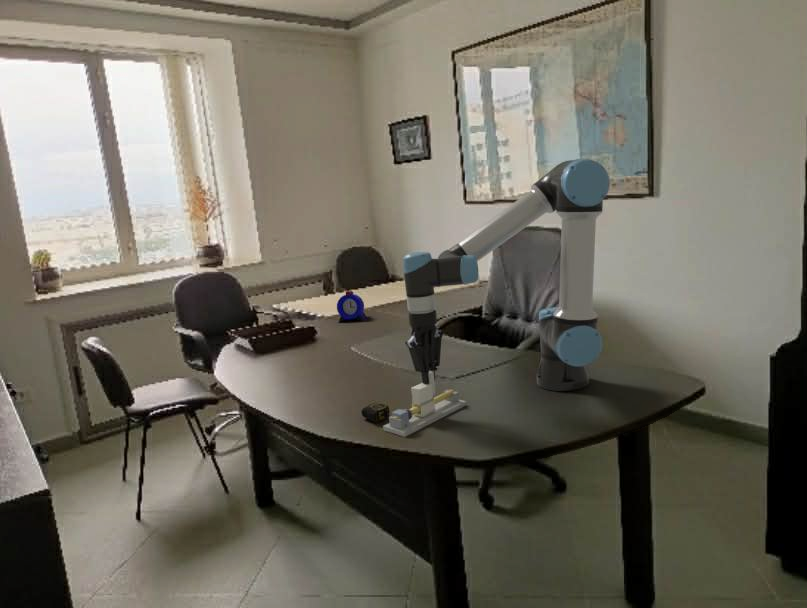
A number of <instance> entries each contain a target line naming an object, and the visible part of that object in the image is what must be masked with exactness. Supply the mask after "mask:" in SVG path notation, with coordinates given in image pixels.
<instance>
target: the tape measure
mask: <svg viewBox="0 0 807 608" xmlns="http://www.w3.org/2000/svg"><path fill="white" fill-rule="evenodd" d="M361 415H362V417H363V418H364V419H367V420H370V421H372V422H374V423H378V422H379V421H384V420H386V419H387V418H389V417H390V416H389V415H390V407H389V406H388V404H387V403H384V402H374V403H371V404H368V405H367V406H365V407H363V408H362V409H361Z"/></svg>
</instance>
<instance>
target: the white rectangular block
mask: <svg viewBox="0 0 807 608" xmlns="http://www.w3.org/2000/svg"><path fill="white" fill-rule="evenodd" d="M410 390H411V408H413V407H416V406H418V405H419V406H420V408H421V412H419V413H417V414H415V415H416V416H419V417H425V416H427V415H429V414H431V413H433V412H435V402H434V397H433V396H434V395H433V393H432V384H423V382H421V383H419V384H417V385H415V386H411V388H410Z"/></svg>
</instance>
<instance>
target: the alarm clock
mask: <svg viewBox="0 0 807 608" xmlns="http://www.w3.org/2000/svg"><path fill="white" fill-rule="evenodd" d="M364 302H365V301H364V300H363V299H362V297H360V295H358V294H354V292H353V291H352V290H348V291H345V294H344V295H342V296H340V298H339V299H338V301H337V304H336V310H337V311H336V312H337V313H338V315H339V316H340V317H339V320H338V324H339V323H341V322H344V321H346V320H352V319H355V320H357V321H360V322H363V321H364V320H365V319H366V318H367V315H366V314H365V313H364V310H365V303H364Z"/></svg>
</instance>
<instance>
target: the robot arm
mask: <svg viewBox="0 0 807 608" xmlns="http://www.w3.org/2000/svg"><path fill="white" fill-rule="evenodd" d="M610 181H611V180H610V176H609V173H608V171H607V169H606V168H605V167H604V166H603V164H601V163H600V162H598V161H596V160H593V159H589V158H577V159H573V160H572V159H571V160H565V161H563V162H562V161H561V163H558V164H557V165H555V167H553V168H552V169H551V170H549V171H548V172H546V174H545V175H543V176H542V177H541V178H540V179H538V180H536V182H534V183H533V184H531V187H530V191H528V192H526V193H525V194H524V195H523V196H521V197H520V198H518V199H517V200H516V201H514V202H513V203H512V204H510V205H509V206H508V207H506V208H504V209H503V210H502V211H500V212H499V213H498V214H496V215H495V216H493V217H492V218H491V219H490V220H488V221H487V222H485V223H484V224H483V225H481V226H480V227H478V228H477V229H476V230H475V229H474V231H473V232H472V233H470V234H468V235H467V236H465V238H463V239H462V240H460V241H459V242H458V243H457V244H455V245H454V246H452V247H451V248H449V249H446V250H444V251H441V253H439V254H438V257H437V258H432V254H431V253H430V252H428V251H421V252H420V251H418V252H416V251H415V252H410V253H407V254H405V255H404V257H403V259H402V260H403V261H402V262H403V276H404V278H403V279H404V285H405V293H406V304H407V311H409V312H408V314H407V315H408V324H409V326H410V327H411V333H410V336H411V337H410V338H409V340H405V342H404V343H405V345H406V346H407V349H408V351H409V354H410V355H409V356H410V357H411V361H412V365H413V368H414V371H415V372H417V373H421V381H422V382H421V383H423V384H432V393H433V396H434V395H436V394H437V393H436V383H435V382H436V373H435V372H437V371H438V370H439V368H437V367H439V366H440V363H441V351H442V350H441V349H442V338H443V336H444V331H443V330H439V329H437V325H436V324H438V317H437V315H438V314H437V311H436V307H437V306H436V296H435V288H437V287H438V288H440V287H449V286H458V285H459V286H460V285H464V286H465V285H469V284H474V283H475V284H476V283H477V281H478V280H479V275H480V274H479V264H478V262H479V261H480V260H482V259H483V258H484V257H486V256H487V255H489V254H490V253H491V252H493V251H495V249H497V248H499V247H500V246H502V245H503V244H504V243H506V242H507V241H508V240H510V239H511V238H513V237H514V236H515V235H517V234H518V233H519V232H521V231H522V230H524V229H526V228H527V227H528V226H529V225H531V224H532V223H534V222H535V221H537V220H538V219H539V218H541V217H542V216H543V215H545V214H546V213H548V214H552V213H554V212H556V214H557V215H558V216H559V218H560V219H561V231H560V232H561V233H560V234H561V236H560V237H561V238H560V241H561V242H560V263H559V264H560V267H559V268H560V270H559V295H558V296H559V302H558V303H559V304H558V306H555V307H554V306H553V307H548V308H543V309H541V310H540V311H539V312H538V324H539V325H538V326H539V327H538V328H539V340H540V342H539V344H540V357H541V358H540V362H539V366H538V369H537V374H536V385H537V386H538V387H540V388H542V389H544V390H548V391H553V392H570V391H577V390H580V389H583V388H585V387H587V386H588V385H589V384H590V377H589V373H588V370H587V367H586V366H588V365H590V364H592V363H593V362H594V361H595V360H596V359H597V358H598V357H599V356H600V355H601V352H602V349H603V340H602V337H601V334H600V333H599V331H598V322H599V321H598V319H599V318H598V317H599V315H598V313H597V312H595V310H594V309H593V296H594V293H593V292H594V274H595V273H594V271H595V268H594V267H595V247H596V227H597V226H596V223H597V221H596V220H597V219H598V217H599V216H600V215H601V214H602V213H603V209H604V208H603V205H604V199H605V198H606V197H607V196H608V192H609V190H610V187H611V186H610V183H611V182H610Z"/></svg>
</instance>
